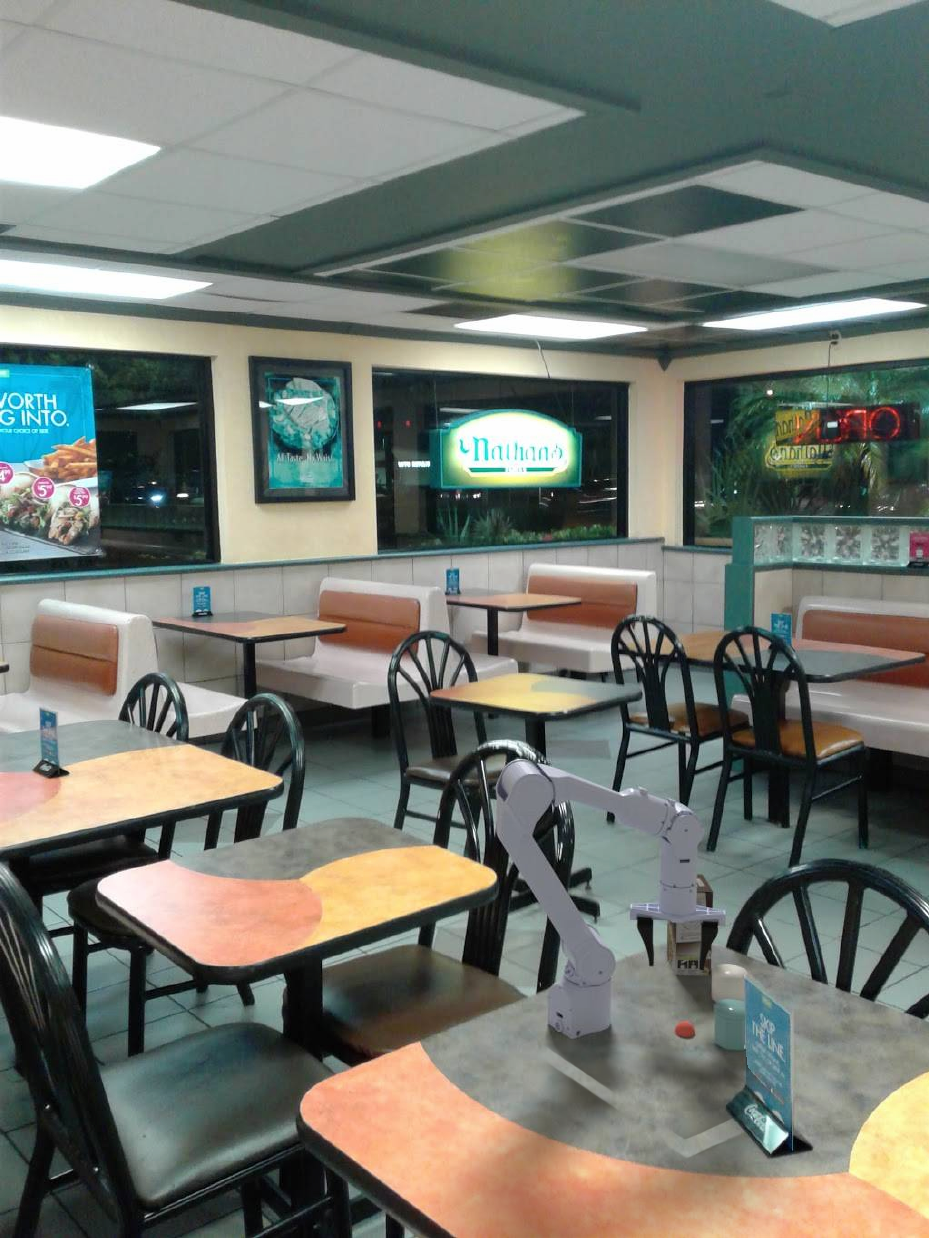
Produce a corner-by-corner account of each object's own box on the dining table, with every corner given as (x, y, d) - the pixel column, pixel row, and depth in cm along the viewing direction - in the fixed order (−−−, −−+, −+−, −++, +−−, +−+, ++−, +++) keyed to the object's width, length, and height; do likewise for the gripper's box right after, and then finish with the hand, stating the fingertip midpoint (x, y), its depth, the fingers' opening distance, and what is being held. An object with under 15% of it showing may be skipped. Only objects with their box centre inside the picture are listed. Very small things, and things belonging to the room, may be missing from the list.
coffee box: (712, 983, 187) (714, 892, 185) (674, 983, 187) (675, 891, 185) (702, 960, 196) (703, 873, 194) (665, 960, 196) (667, 873, 194)
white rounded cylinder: (730, 1018, 174) (730, 982, 174) (703, 1004, 179) (704, 969, 178) (754, 1008, 178) (755, 973, 177) (727, 995, 182) (728, 961, 181)
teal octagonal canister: (733, 1059, 161) (734, 1020, 160) (704, 1043, 165) (705, 1005, 165) (760, 1048, 164) (761, 1010, 163) (731, 1032, 168) (732, 995, 168)
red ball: (684, 1047, 165) (685, 1029, 165) (670, 1039, 168) (670, 1021, 167) (698, 1042, 167) (699, 1023, 167) (684, 1034, 169) (685, 1015, 169)
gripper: (629, 887, 168) (628, 972, 169) (727, 893, 165) (725, 980, 167) (631, 871, 175) (630, 953, 176) (725, 877, 172) (723, 960, 174)
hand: (676, 965), depth 172 cm, fingers open, 7 cm apart
